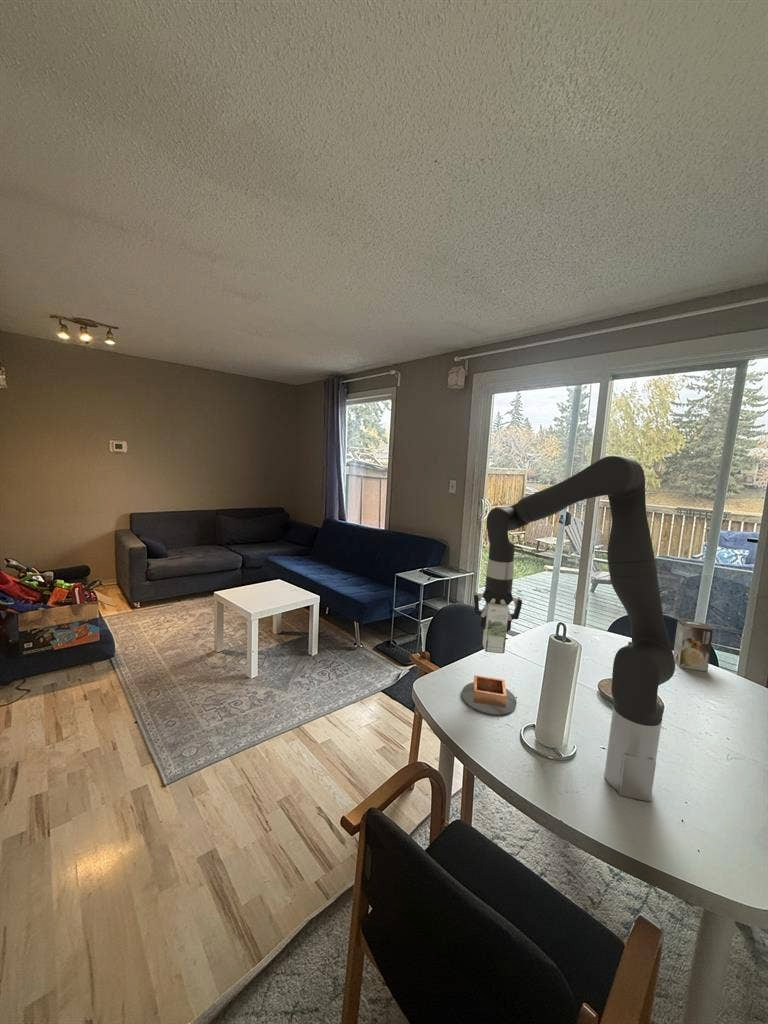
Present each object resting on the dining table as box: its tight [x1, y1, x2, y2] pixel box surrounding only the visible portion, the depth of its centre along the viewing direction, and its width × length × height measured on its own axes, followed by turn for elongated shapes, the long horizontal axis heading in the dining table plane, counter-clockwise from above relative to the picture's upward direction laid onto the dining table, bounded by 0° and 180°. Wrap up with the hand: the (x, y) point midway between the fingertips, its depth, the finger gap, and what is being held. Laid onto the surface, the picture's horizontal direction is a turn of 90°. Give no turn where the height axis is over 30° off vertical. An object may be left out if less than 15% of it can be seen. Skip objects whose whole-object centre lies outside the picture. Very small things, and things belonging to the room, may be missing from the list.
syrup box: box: [482, 602, 510, 654], centre depth 120 cm, size 6×6×14 cm
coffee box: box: [673, 619, 714, 672], centre depth 150 cm, size 9×6×16 cm
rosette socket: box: [461, 674, 517, 717], centre depth 123 cm, size 16×16×4 cm
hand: (494, 629), depth 120 cm, fingers closed on syrup box, 6 cm apart
